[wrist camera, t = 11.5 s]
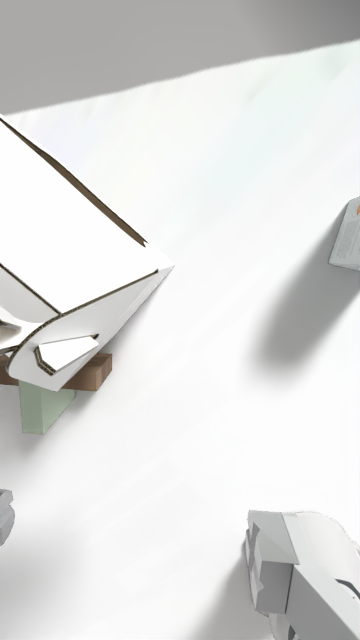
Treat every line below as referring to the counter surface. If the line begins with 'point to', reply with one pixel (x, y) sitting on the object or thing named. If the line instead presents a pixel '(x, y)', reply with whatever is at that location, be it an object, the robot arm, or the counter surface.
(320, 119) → the counter surface
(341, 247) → the small box
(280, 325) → the counter surface
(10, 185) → the gable box
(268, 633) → the counter surface
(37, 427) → the crosspiece
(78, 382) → the upright
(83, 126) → the counter surface
